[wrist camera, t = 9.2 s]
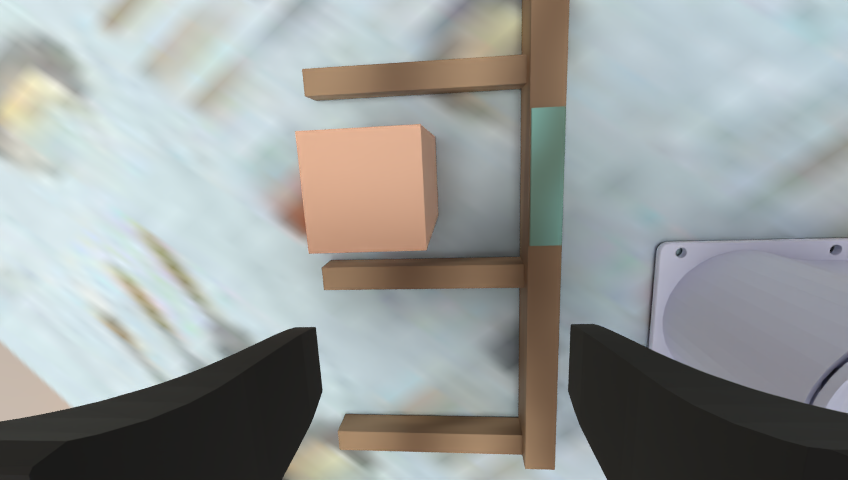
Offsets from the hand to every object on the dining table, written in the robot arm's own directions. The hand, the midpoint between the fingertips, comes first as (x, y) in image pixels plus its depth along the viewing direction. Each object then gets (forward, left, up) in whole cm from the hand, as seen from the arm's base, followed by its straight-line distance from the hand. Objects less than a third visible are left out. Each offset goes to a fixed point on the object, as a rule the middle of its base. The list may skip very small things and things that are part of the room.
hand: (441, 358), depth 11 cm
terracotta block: (+3, -4, -10) cm, 12 cm away
